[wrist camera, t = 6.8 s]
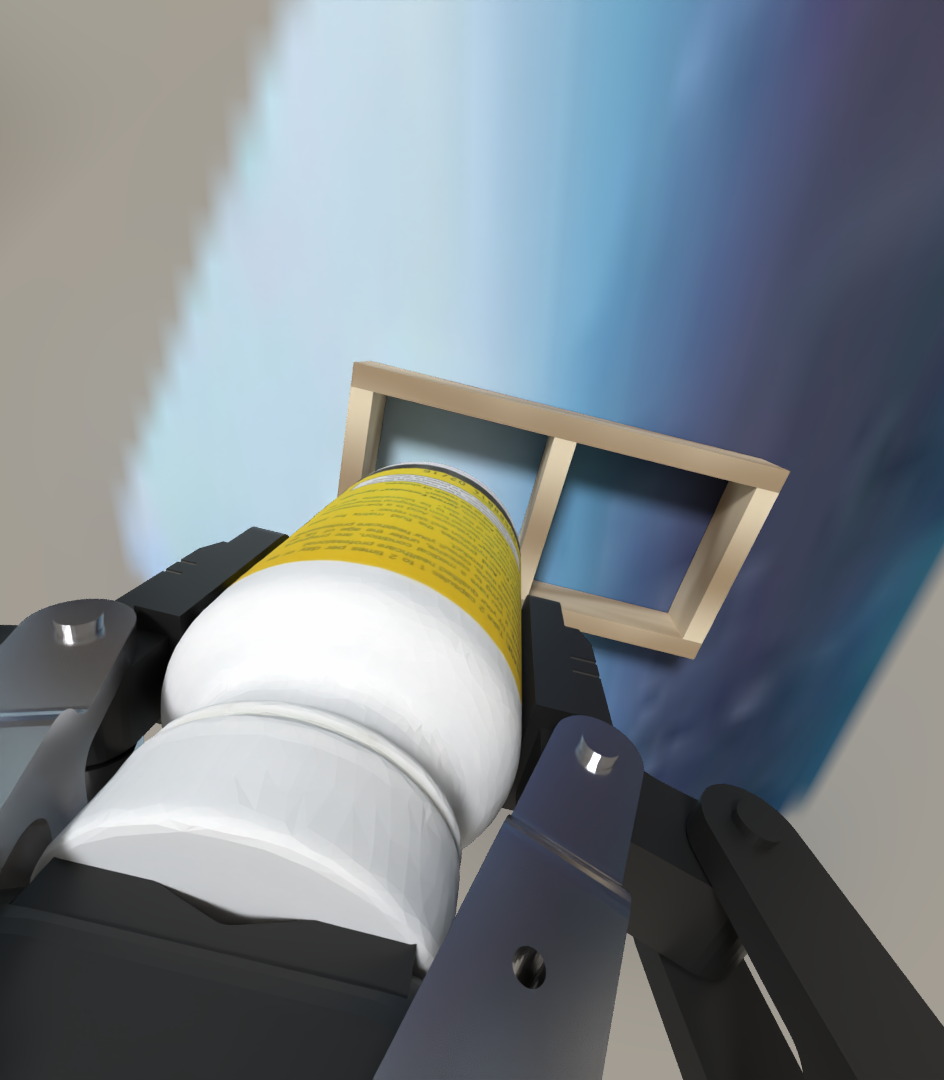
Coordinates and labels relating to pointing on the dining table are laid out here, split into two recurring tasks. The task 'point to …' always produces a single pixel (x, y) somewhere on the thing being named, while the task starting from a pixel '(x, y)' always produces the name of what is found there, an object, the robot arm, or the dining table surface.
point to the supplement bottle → (334, 721)
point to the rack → (712, 562)
